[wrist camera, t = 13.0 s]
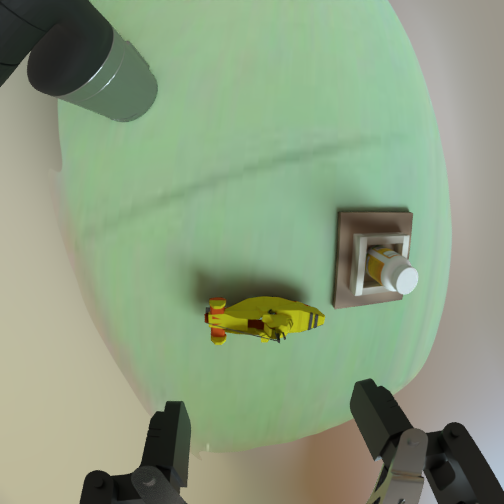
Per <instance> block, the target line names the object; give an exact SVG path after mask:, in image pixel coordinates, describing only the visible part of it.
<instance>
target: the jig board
mask: <svg viewBox="0 0 504 504" xmlns="http://www.w3.org/2000/svg"><path fill="white" fill-rule="evenodd" d="M412 219H413V213H411V212H338V240H337V260H336V275H335V288H334V299H333V307H334V309H339V308H347V307H355V306H362V305H369V304H376V303H383V302H389V301H396V300H402V297H403V294H400V293H399V292H397V291H390V290H387V289H386V288H385V287H383V286H382V285H381V284H380V283H378V282H377V281H376V280H374V279H373V278H372V277H371V276H369V275H368V274H367V273H366V272H365V262H366V252H367V251H368V250H369V249H370V248H371V247H373V246H375V245H382V246H385V247H387V248H389V249H391V250H392V251H394V252H396V253H398V254H400V255H402V256H404V257H405V258H407V259H409V251H410V242H411V232H412Z"/></svg>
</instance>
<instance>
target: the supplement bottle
mask: <svg viewBox="0 0 504 504" xmlns="http://www.w3.org/2000/svg"><path fill="white" fill-rule="evenodd" d="M365 272H366V273H367V274H368V275H369V276H371V277H372V278H373V279H374V280H376V281H377V282H378V283H380V284H381V285H382V286H383V287H385V288H386V289H387V290H390V291H397V292H399V293H400V294H408V293H410V292H411V291H412V290H413V289H414V288H415V286H416V285H417V282H418V272H417V271H416V269H415V268H413V267H412V266H411V263H410V262H409V260H408V259H407V258H405V257H404V256H402V255H400V254H398V253H396V252H394V251H392V250H391V249H389V248H387V247H385V246H382V245H375V246H373V247H371V248H370V249H369V250H368V251H367V252H366V262H365Z"/></svg>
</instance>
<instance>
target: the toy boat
mask: <svg viewBox="0 0 504 504" xmlns="http://www.w3.org/2000/svg"><path fill="white" fill-rule="evenodd" d="M225 304H226V299H224V298H222V297H215V298H210V301H209V305H210V308H208V307H206V314H205V322H206V323H208V324H209V327H211V341H212V342H213V343H214V344H215V345H222V344H223V343H224V342H225V341H226V334H225V332H228V333H234V334H247V335H253V336H256V335H259V336H257V337H260V336H261V342H268V341H269V339H270V338H271V339H270V340H273V339H277V340H274V341H278V343H280V338H282V337H284V340H286V337H285V336H286V335H287V334H288V333H294V332H302V331H305V330H310V329H311V328H316V327H317V326H320V325H323V323H324V320H325V315H324V314H322V313H321V312H320V311H319V310H318V309H317V308H314V307H311V306H309V305H305V304H303V303H301V302H298V301H290V300H286V299H283V298H280V297H267V296H262V297H255V298H248V299H246V300H243V301H241V302H239V303H237V304H235V305H233V306H231V307H227V308H225ZM270 309H272V312H275V314H268V311H269V310H270ZM260 317H261V318H262V320H256V319H260Z"/></svg>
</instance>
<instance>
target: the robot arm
mask: <svg viewBox="0 0 504 504" xmlns="http://www.w3.org/2000/svg"><path fill="white" fill-rule="evenodd" d="M30 51H31V53H30V56H29V60H28V65H27V75H28V79H29V82H30V83H31V85H32V86H33V87H34V88H35V89H36V90H38V91H40V92H42V93H45V94H48V95H51V96H53V97H56V98H59V99H62V100H64V101H67V102H70V103H73V104H75V105H78V106H80V107H83V108H85V109H88V110H91V111H93V112H96V113H98V114H100V115H103V116H105V117H108V118H110V119H112V120H115V121H119V122H128V121H132V120H135V119H137V118H139V117H140V116H142V115H143V114H144V113H146V112H147V110H148V109H149V108H150V107H151V106H152V104H153V102H154V100H155V98H156V95H157V81H156V79H155V77H154V75H153V74H152V73H151V72H150V70H149V65H148V63H147V62H146V61H145V60H144V58H143V57H142V56H141V55H140V53H139V52H138V51H137V50H136V48H135V47H134V46H133V45H132V43H131V42H130V41H125V40H124V39H123V38H122V37H121V36H120V35H119V33H118V32H117V31H116V30H115V29H114V28H113V26H112V25H111V24H110V23H109V22H108V21H107V20H106V19H105V18H104V17H103V16H102V14H101V13H100V12H99V11H98V10H97V9H96V8H95V7H94V6H93V5H92V4H91V3H90V2H89V0H0V87H1V86H2V85H3V84H4V82H5V81H6V80H7V79H8V78H9V76H10V75H11V74H12V73H13V72H14V70H15V69H16V68H17V67H18V65H19V64H20V62H21V61H22V60H23V59H24V58H25V57H26V55H27V54H28V53H29V52H30ZM350 410H351V413H352V415H353V417H354V419H355V421H356V423H357V426H358V428H359V430H360V432H361V434H362V436H363V438H364V440H365V442H366V445H367V447H368V449H369V451H370V453H371V455H372V457H373V459H374V461H377V460H380V459H382V460H383V462H384V463H383V465H382V468H381V471H380V473H379V476H378V479H377V482H376V484H375V487H374V489H373V492H372V494H371V496H370V498H369V499H368V501H367V503H366V504H418V502H419V499H420V496H421V492H422V488H423V484H424V477H422V476H421V474H422V470H423V471H424V474H425V475H426V478H427V480H428V482H429V484H430V487H431V489H432V491H433V493H434V495H435V498H436V500H437V502H438V504H504V491H503V489H502V487H501V485H500V484H499V482H498V480H497V478H496V477H495V475H494V473H493V471H492V470H491V468H490V466H489V464H488V463H487V461H486V459H485V458H484V456H483V455H482V453H481V451H480V450H479V448H478V447H477V445H476V444H475V442H474V440H473V439H472V437H471V436H470V434H469V433H468V431H467V430H466V428H465V427H464V426H463V425H462V424H460V423H457V422H452V423H449V424H447V425H446V426H445V428H444V429H443V430H442V431H437V432H430V433H425V432H424V431H423V430H420V429H417V428H414V427H413V426H412V425H411V424H410V422H409V420H408V419H407V417H406V415H405V414H404V412H403V411H402V409H401V408H400V406H398V403H397V402H396V400H394V397H393V396H392V394H391V392H390V391H389V390H387V389H386V388H384V387H383V386H379V387H377V385H376V384H375V382H374V381H373V380H372V379H371V378H370V379H366V380H362V381H358V382H356V383H355V386H354V390H353V393H352V397H351V400H350ZM190 437H191V424H190V419H189V416H188V413H187V410H186V407H185V404H184V402H183V401H167V402H166V405H165V410H164V412H161V411H157V412H156V413H155V414H154V416H153V417H152V418H151V420H150V424H149V430H148V433H147V438H146V442H145V447H144V452H143V456H142V461H141V464H140V466H139V468H137V469H136V470H135V471H134V472H132V473H130V474H125V475H115V476H110V475H109V474H108V473H106V472H104V471H100V470H95V471H92V472H90V473H89V474H88V475H87V476H86V477H85V480H84V484H83V489H82V494H81V499H80V504H187V503H186V502H185V501H184V500H183V498H182V497H181V496H180V495H179V494H180V487H187V479H188V462H189V450H190Z"/></svg>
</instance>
